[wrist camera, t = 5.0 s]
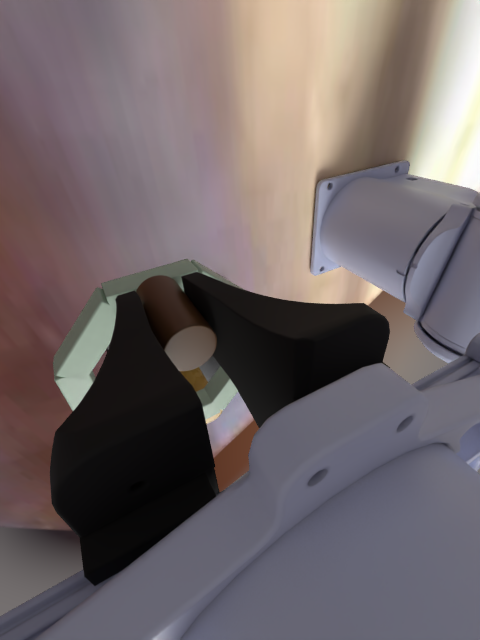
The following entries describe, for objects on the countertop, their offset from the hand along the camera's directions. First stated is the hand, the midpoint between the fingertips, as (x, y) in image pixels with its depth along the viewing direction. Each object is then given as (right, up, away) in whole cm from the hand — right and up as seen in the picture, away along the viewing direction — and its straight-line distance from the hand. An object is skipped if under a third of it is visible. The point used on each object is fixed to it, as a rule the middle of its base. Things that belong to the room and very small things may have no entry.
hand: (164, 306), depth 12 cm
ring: (-1, -2, +4) cm, 4 cm away
